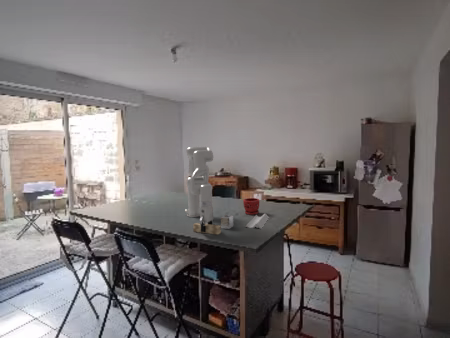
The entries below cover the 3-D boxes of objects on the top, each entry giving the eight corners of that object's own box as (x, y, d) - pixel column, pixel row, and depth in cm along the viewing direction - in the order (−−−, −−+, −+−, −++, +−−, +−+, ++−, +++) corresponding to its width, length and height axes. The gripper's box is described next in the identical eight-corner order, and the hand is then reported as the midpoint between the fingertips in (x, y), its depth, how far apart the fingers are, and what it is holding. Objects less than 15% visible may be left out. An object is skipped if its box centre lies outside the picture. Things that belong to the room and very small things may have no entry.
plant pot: (247, 211, 240) (247, 197, 239) (262, 212, 233) (261, 198, 232) (240, 214, 228) (240, 199, 228) (255, 216, 222) (255, 201, 221)
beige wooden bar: (193, 231, 183) (193, 224, 183) (196, 230, 187) (196, 222, 187) (217, 234, 176) (217, 227, 175) (220, 233, 179) (220, 225, 179)
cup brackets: (200, 226, 196) (200, 215, 195) (205, 223, 203) (205, 213, 202) (229, 229, 187) (229, 218, 186) (233, 226, 194) (233, 215, 193)
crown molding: (254, 217, 220) (254, 213, 220) (270, 218, 216) (270, 214, 216) (244, 228, 190) (244, 223, 190) (262, 229, 186) (262, 224, 186)
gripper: (205, 206, 170) (205, 234, 172) (217, 201, 186) (217, 226, 187) (194, 205, 173) (195, 233, 175) (207, 201, 189) (207, 225, 190)
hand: (206, 229), depth 181 cm, fingers open, 9 cm apart
